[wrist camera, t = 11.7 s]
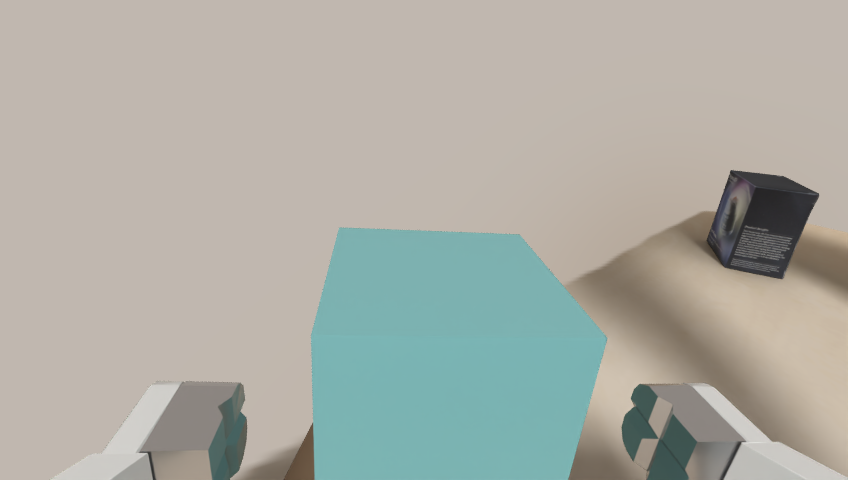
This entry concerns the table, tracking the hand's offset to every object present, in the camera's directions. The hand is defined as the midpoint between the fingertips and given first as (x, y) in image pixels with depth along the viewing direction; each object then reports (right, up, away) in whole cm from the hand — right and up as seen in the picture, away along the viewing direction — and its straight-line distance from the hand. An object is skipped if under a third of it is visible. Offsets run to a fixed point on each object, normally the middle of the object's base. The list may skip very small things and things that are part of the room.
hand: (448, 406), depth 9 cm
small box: (+40, +1, +46) cm, 62 cm away
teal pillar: (-1, -7, +4) cm, 8 cm away
